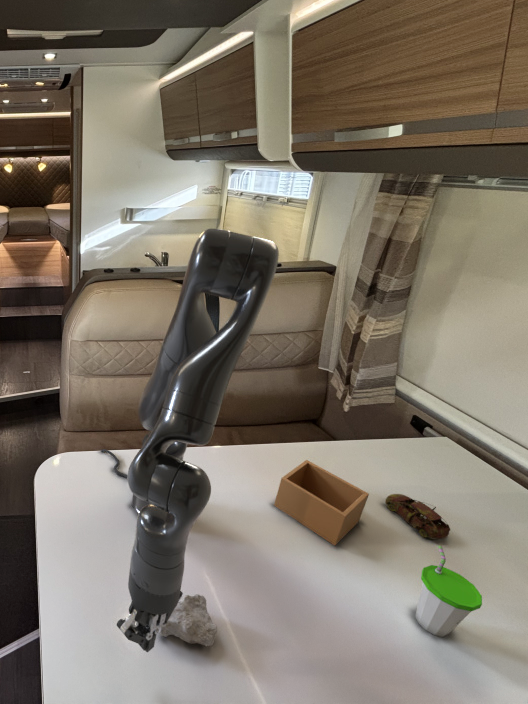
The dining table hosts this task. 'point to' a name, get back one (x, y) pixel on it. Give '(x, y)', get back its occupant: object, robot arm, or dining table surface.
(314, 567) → the dining table surface
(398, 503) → the toy car
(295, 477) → the box
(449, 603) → the cup
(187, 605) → the stone
